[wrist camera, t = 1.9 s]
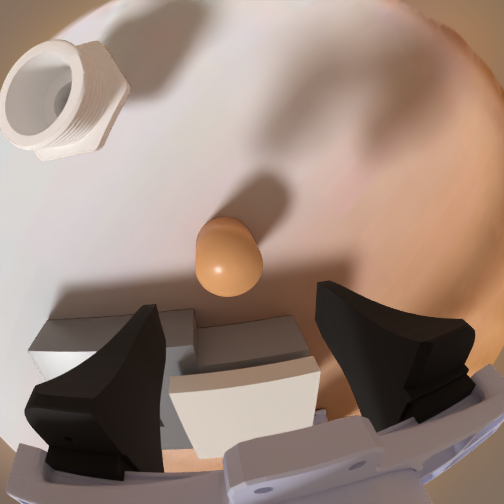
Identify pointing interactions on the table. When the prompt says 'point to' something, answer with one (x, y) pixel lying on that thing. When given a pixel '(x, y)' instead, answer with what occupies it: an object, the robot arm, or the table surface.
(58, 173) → the table surface
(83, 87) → the pipe fitting
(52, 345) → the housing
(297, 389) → the cream square tile
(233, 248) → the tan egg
